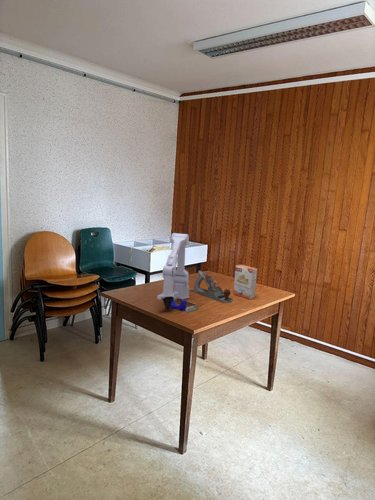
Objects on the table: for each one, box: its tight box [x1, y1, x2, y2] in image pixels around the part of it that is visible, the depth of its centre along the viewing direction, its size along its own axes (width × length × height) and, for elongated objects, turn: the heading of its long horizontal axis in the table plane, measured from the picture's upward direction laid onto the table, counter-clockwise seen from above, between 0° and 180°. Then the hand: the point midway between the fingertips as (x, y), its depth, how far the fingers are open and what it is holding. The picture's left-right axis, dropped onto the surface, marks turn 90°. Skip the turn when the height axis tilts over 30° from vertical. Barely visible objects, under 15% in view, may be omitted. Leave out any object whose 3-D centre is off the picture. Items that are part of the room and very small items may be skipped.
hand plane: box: [189, 270, 234, 304], centre depth 246 cm, size 9×33×15 cm, turn 43°
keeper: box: [174, 297, 199, 313], centre depth 220 cm, size 9×18×3 cm, turn 46°
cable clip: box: [169, 298, 187, 312], centre depth 217 cm, size 12×4×6 cm, turn 50°
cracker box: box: [233, 264, 258, 300], centre depth 249 cm, size 14×6×21 cm, turn 45°
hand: (167, 309), depth 212 cm, fingers closed
